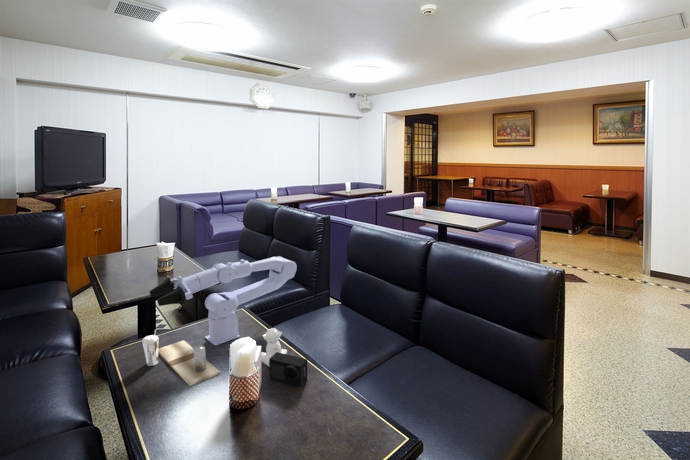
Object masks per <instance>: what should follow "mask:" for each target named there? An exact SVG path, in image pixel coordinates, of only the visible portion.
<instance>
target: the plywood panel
mask: <svg viewBox="0 0 690 460" xmlns="http://www.w3.org/2000/svg"><path fill="white" fill-rule="evenodd" d="M158 355H160V356H161V357H162V359H164V361H165V362H166V363H167V364H168V365H169V366H170V367H171V368H172V369H173V370H174V371H175V372H176V373H177V374H178V376H180V378H181V379H182V380H183V381H184V382H185V383H186V384H187V385H188V386H189V387H191V386H194V385H196V384H199V383H200V382H203V381H205V380H208V379H210V378H213V377H215V376H218V375H220V370H219V369H218V368H217V367H215V366H214V365H213V364H212V363H211V362H210V361H209V360H207V359H206V370H204V371H202V372H196V371H195V361H194V347H192V346H191V345H190V343H188V342H187V341H185V340H180V341H177V342H174V343H171V344H167V345H165V346H162V347H160V348H159V347H158Z"/></svg>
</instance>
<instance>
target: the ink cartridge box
mask: <svg viewBox="0 0 690 460" xmlns="http://www.w3.org/2000/svg"><path fill="white" fill-rule="evenodd" d="M244 338H246V337H245V336H244ZM246 339H247V338H246ZM255 346H256V362H255V361H254V365H255V367H256V369H257V366H258V367H259V394H258V397H256V398H255V399H254V400H253V401H258V400H259V395H260V391H261V387H262V384H263V383H262V382H263V381H262V380H263V378H262V377H263V376H262V373H263V372H262V361H261V352H262V345H255Z"/></svg>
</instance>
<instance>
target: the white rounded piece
mask: <svg viewBox="0 0 690 460" xmlns="http://www.w3.org/2000/svg"><path fill="white" fill-rule="evenodd" d="M159 340H160V338H159V336H158V335H157V329H154V334H151V335H146V336H145V337H143V339H142V340H141V342H142V347H143V351H144V357H145V361H146V366H148V367H152V366H153V367H154V366H156V365H158V364H159V353H158V349H159Z"/></svg>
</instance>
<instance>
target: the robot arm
mask: <svg viewBox="0 0 690 460" xmlns="http://www.w3.org/2000/svg"><path fill="white" fill-rule="evenodd" d="M297 268H298V266H297V263H296V261H293V260H290V259H287V258H284V257H283V256H281V255H278V256H272V257H268V258H264V259H261V260H257V261H253V262H249V260H246V259H239V261H237V262H235V261H233V262H230V261H229V262H226V264H224V263H222V262H220V263H218V262H217V263H214V264H213V266H212V267H211V268H208V269H206V270H203V271H200V272H198V273H194V274H191V275H189V276H185V277H182V276H181V275H179V276H177V278H176V277H174V278H171V277H166V278H165V280H164V281H162V282H161V283H160V284H159V285H157V286H155V287H154V288H152V289H151V290H149V295H150V298H157V297H159V298H157V299H156V301H157V304H158V306H159V307H162V306H167V305H168V306H169V305H177V304H178V305H184V304H186V301H185V300H187V301H188V300H190V299H193V298H194V296H193V294H194V293H197V292H200V291H202V290H205V289H208V288H210V287H213V286H214V285H218V284H220V283H221V284H230V283H231V282H232V281H233V280H235V279H239V278H245V277H249V276H251V274H252V273H254V272H260V271H261V272H262V271H266V270H269V274H268V277H267V278H264V279H261V280H260V281H257V282H254V283H252V284H249V285H247V286H244V287H241V288H238V289H236V290H233V291H223V292H219V293H214V292H213V293H211V294H209V295H208V296H207V297H206V298H205V300H204V306H205V308H206V309H207V310H208V314H207V316H208V317H207V318H208V329H209V331H208V333H209V334H207V335H205V336H204V338H205V339H206V340H207V341H208V342H210V343H211V344H212V345H213V346H219V345H221V344H223V343H228V342H229V341H231V340H235V339H237V338H239V337H240V334H239V320H238V316H237V314H236V312H235V311H237V309H238V306H241V305H242V304H245V303H247V302H251V301H252V300H255V299H257V298H259V297H262V296H264V295H267V294H269V293H271V292H274V291H276V290H279V289H280V288H281V287H283V285H285V284H286V282H287V281H289V280H291V279H293V278H295V275H296V272H297Z"/></svg>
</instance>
